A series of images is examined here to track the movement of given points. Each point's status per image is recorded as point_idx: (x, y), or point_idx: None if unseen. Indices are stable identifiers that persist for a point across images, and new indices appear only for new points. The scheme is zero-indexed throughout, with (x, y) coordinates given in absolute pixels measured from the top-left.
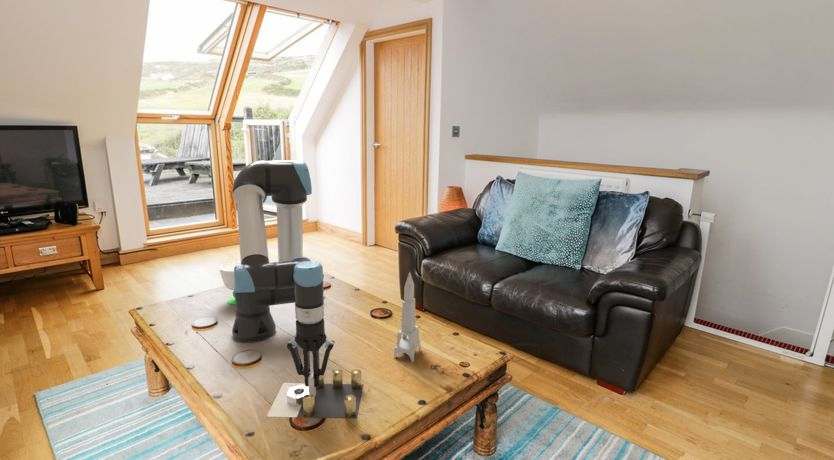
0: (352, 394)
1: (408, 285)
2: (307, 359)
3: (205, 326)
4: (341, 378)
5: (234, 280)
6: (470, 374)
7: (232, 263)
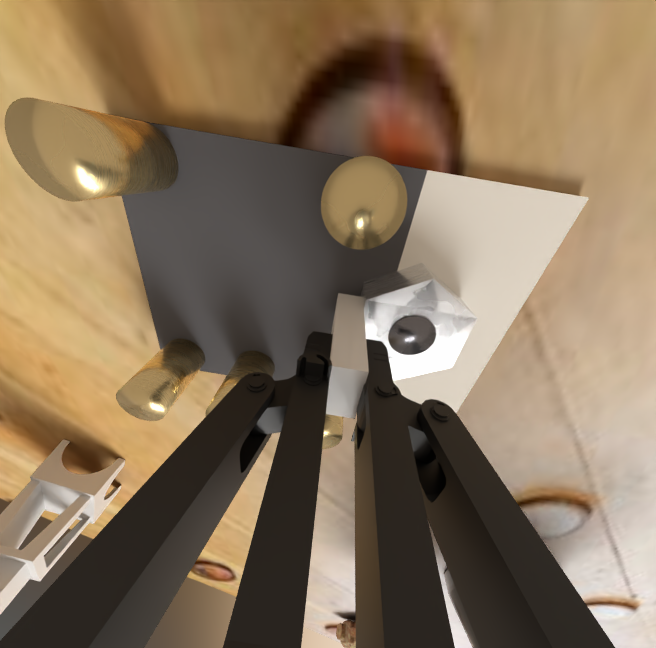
0: (187, 314)
1: None
2: (385, 572)
3: (605, 604)
4: (220, 386)
5: None
6: None
7: None
